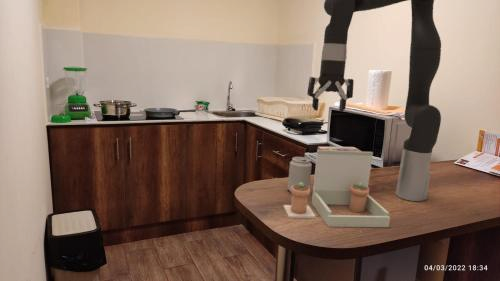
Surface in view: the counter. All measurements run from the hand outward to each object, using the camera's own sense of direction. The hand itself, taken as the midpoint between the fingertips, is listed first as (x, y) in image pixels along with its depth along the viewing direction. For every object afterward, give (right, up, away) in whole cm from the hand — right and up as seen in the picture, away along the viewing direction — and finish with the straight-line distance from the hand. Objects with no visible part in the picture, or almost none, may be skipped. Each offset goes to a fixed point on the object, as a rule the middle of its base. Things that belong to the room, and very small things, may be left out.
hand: (328, 110), depth 119 cm
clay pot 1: (-11, -31, -7) cm, 33 cm away
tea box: (+7, -27, +18) cm, 33 cm away
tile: (-10, -31, -7) cm, 34 cm away
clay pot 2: (+9, -32, -2) cm, 33 cm away
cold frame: (+5, -32, -6) cm, 33 cm away
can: (-8, -28, +11) cm, 31 cm away
